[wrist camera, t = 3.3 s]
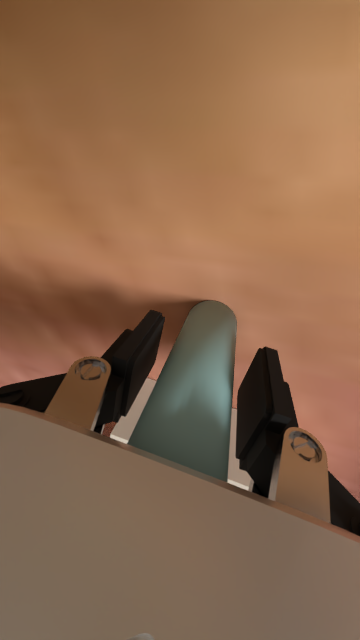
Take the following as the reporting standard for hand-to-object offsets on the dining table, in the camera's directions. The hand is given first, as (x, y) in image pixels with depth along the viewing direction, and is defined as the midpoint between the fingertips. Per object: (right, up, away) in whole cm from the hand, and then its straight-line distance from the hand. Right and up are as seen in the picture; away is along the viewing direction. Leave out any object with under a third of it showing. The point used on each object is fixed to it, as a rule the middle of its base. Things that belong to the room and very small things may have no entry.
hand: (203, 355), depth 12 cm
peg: (+1, +2, +3) cm, 3 cm away
